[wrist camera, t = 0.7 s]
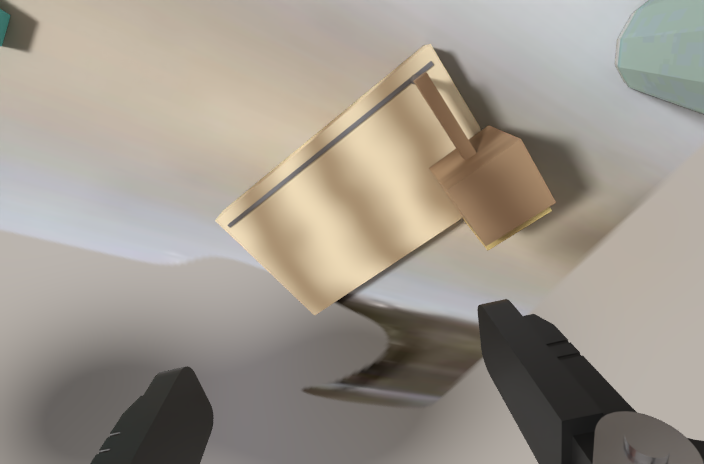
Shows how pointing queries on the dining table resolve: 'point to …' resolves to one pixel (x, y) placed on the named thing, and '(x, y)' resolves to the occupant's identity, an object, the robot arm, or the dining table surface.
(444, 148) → the board
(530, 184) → the brown block with handle
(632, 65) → the disposable coffee cup
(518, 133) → the dining table surface
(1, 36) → the alien figure
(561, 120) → the dining table surface
